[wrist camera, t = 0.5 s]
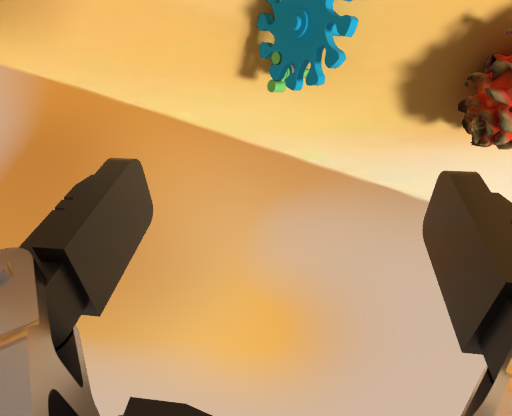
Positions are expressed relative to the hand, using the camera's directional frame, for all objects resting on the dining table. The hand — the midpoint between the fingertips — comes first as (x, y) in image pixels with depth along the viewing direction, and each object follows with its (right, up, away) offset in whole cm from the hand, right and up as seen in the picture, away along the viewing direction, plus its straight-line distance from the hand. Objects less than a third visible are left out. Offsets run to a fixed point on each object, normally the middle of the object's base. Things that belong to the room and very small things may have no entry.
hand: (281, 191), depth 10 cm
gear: (+3, +16, +22) cm, 27 cm away
